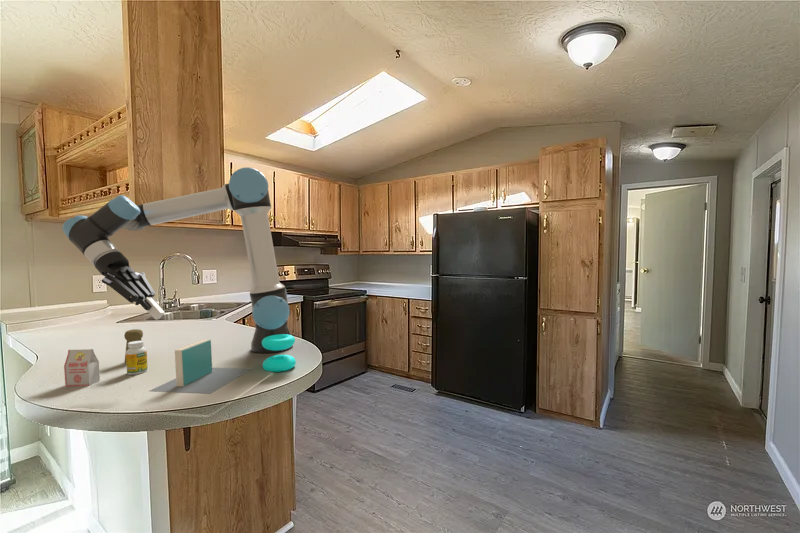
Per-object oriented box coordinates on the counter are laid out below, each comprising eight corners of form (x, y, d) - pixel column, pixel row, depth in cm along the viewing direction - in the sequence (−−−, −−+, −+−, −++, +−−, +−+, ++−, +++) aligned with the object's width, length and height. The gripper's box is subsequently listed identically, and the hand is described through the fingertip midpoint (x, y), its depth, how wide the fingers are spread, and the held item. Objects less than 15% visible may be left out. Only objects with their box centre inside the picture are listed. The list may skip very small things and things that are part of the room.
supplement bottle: (136, 369, 119) (135, 339, 118) (152, 369, 118) (150, 340, 118) (122, 375, 113) (120, 344, 113) (138, 375, 113) (136, 344, 112)
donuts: (255, 340, 113) (271, 333, 123) (256, 372, 113) (272, 362, 123) (286, 341, 111) (299, 333, 121) (287, 373, 112) (301, 363, 122)
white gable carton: (76, 381, 108) (74, 348, 108) (99, 381, 109) (97, 347, 108) (65, 386, 105) (63, 351, 104) (89, 386, 105) (87, 351, 104)
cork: (134, 364, 124) (132, 331, 124) (119, 363, 125) (117, 331, 125) (150, 359, 130) (148, 328, 130) (135, 358, 131) (134, 327, 131)
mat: (148, 392, 99) (148, 391, 99) (200, 368, 118) (200, 367, 118) (210, 395, 96) (210, 393, 96) (252, 370, 116) (252, 368, 116)
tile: (176, 386, 102) (174, 350, 101) (205, 371, 114) (204, 339, 113) (184, 386, 101) (182, 350, 101) (212, 372, 113) (211, 339, 113)
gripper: (120, 267, 117) (169, 320, 115) (78, 269, 104) (133, 329, 102) (134, 250, 116) (184, 303, 114) (93, 250, 103) (149, 310, 101)
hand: (160, 316), depth 108 cm, fingers closed
